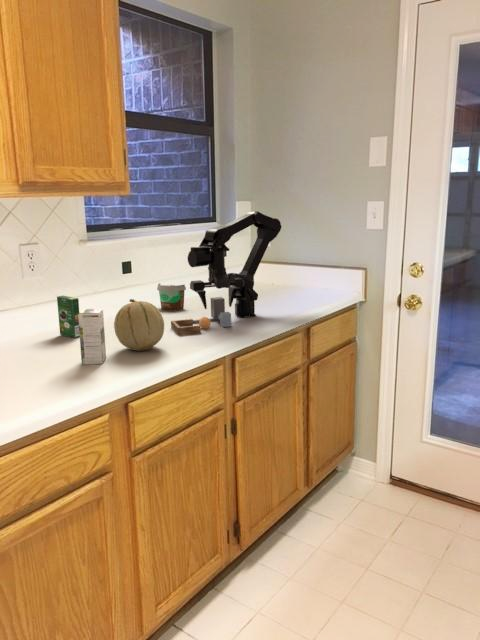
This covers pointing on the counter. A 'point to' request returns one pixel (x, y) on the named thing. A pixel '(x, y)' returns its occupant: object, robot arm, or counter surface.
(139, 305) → the cantaloupe
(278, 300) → the counter surface
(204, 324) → the ball
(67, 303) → the coffee box
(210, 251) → the robot arm
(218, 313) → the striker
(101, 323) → the syrup box
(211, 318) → the rail
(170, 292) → the food container
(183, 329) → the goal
